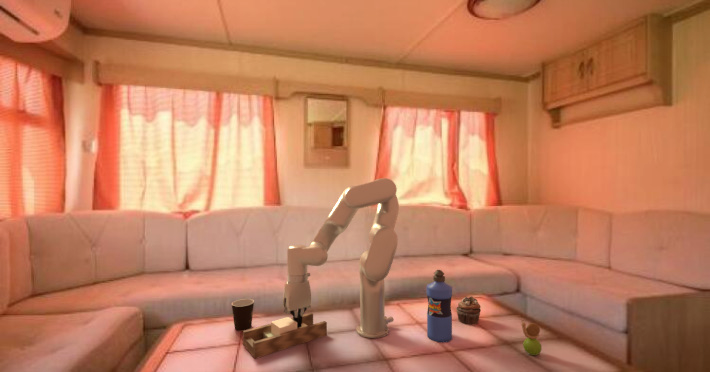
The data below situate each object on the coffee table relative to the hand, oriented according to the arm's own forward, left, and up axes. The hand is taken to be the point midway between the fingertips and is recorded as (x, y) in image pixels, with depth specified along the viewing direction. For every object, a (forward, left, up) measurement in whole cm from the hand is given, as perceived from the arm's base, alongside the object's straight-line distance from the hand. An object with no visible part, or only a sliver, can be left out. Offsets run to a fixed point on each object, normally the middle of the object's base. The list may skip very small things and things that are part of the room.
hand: (297, 326), depth 126 cm
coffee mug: (+13, -22, -4) cm, 26 cm away
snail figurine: (-56, +60, -4) cm, 82 cm away
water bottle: (-42, +33, -4) cm, 54 cm away
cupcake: (-63, +31, -4) cm, 71 cm away
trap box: (+5, 0, -4) cm, 6 cm away
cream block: (+6, +1, -1) cm, 6 cm away
